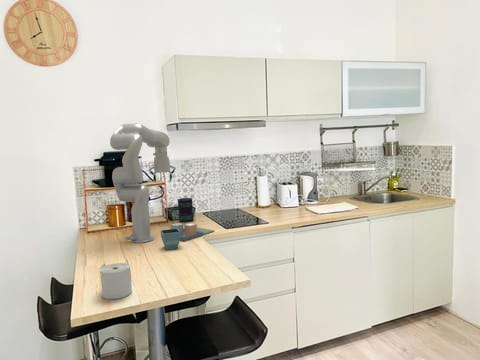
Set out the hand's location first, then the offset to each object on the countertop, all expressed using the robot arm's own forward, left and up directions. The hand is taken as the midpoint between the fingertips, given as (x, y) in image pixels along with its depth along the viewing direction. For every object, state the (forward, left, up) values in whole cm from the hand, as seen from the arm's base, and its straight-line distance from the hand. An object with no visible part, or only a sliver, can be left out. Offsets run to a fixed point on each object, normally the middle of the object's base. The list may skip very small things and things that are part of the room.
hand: (163, 181), depth 250 cm
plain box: (-16, -31, -28) cm, 45 cm away
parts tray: (-14, -35, -29) cm, 47 cm away
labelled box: (-12, -38, -28) cm, 49 cm away
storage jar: (+13, -5, -29) cm, 32 cm away
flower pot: (-32, -46, -29) cm, 62 cm away
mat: (-1, -35, -29) cm, 45 cm away
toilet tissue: (-81, -75, -29) cm, 114 cm away
